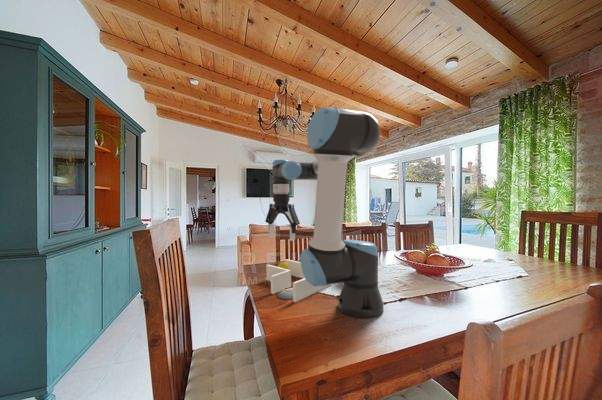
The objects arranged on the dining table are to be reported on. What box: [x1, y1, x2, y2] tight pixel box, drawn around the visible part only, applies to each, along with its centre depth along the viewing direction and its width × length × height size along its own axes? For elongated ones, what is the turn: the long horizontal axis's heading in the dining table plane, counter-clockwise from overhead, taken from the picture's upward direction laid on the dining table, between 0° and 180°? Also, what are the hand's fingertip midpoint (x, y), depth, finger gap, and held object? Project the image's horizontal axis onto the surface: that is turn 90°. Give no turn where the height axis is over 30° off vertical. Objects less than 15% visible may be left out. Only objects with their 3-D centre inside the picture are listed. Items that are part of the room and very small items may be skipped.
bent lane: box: [265, 259, 332, 303], centre depth 111 cm, size 27×23×7 cm
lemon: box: [277, 260, 289, 270], centre depth 120 cm, size 6×6×8 cm
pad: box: [277, 289, 293, 300], centre depth 100 cm, size 8×8×1 cm
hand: (281, 238), depth 120 cm, fingers open, 13 cm apart
